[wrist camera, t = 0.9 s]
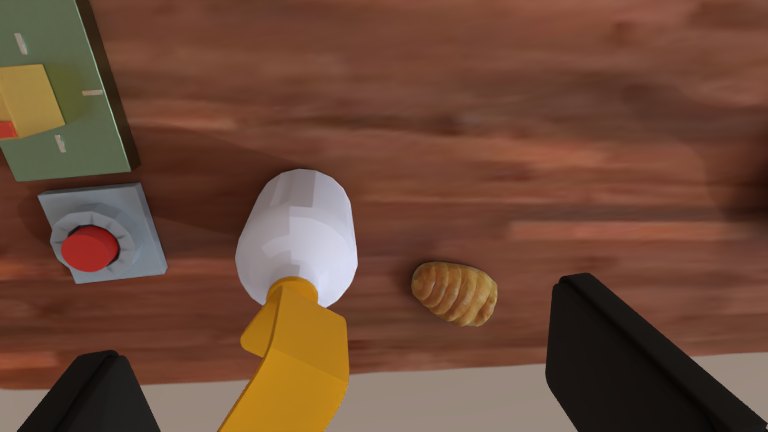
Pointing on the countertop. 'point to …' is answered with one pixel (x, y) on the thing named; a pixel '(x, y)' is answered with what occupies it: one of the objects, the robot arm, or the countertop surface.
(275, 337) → the soap bottle
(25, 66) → the yellow bar
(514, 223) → the countertop surface
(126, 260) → the grey square piece
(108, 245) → the button
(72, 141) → the plate
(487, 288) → the pastry
